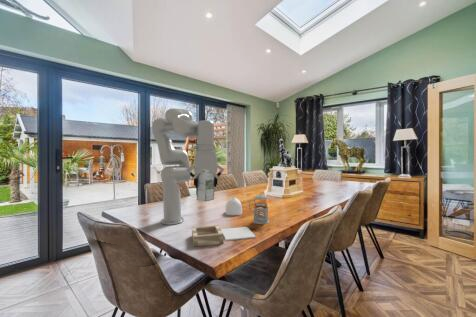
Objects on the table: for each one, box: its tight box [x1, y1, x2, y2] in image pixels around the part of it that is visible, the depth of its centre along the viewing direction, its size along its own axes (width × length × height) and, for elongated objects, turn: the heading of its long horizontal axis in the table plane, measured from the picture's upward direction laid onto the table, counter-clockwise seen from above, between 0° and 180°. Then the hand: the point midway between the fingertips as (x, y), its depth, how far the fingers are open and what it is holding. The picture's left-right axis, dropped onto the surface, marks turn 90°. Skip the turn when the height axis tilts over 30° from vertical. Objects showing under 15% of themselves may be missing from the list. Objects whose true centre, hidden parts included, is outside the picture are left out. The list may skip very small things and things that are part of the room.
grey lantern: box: [248, 177, 270, 225], centre depth 133 cm, size 10×12×25 cm
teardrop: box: [224, 194, 243, 216], centre depth 151 cm, size 11×11×12 cm
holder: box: [191, 224, 224, 247], centre depth 107 cm, size 13×13×4 cm
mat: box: [220, 226, 256, 242], centre depth 114 cm, size 14×14×1 cm
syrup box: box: [196, 169, 215, 202], centre depth 107 cm, size 6×6×14 cm
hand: (205, 186), depth 107 cm, fingers closed on syrup box, 8 cm apart
